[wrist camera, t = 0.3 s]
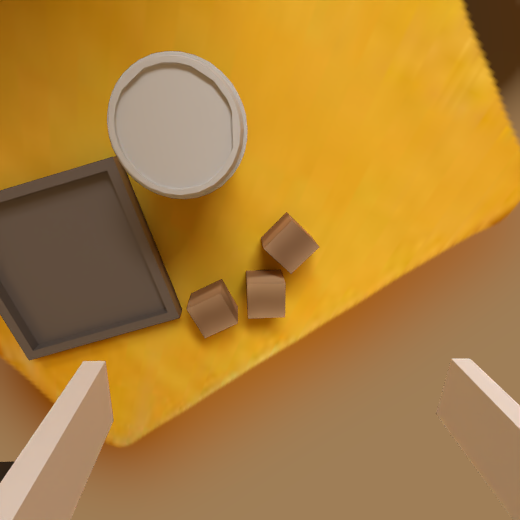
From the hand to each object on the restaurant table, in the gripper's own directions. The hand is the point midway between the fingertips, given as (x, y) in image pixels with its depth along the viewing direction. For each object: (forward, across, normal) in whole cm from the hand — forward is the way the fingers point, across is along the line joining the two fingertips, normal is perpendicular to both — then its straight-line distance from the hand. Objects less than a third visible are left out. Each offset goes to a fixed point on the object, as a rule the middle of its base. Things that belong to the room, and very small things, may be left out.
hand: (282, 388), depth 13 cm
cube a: (+26, -4, -9) cm, 28 cm away
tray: (+26, -19, -4) cm, 32 cm away
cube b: (+26, +2, -7) cm, 27 cm away
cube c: (+26, +4, -1) cm, 26 cm away
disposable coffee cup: (+26, -6, +9) cm, 28 cm away
